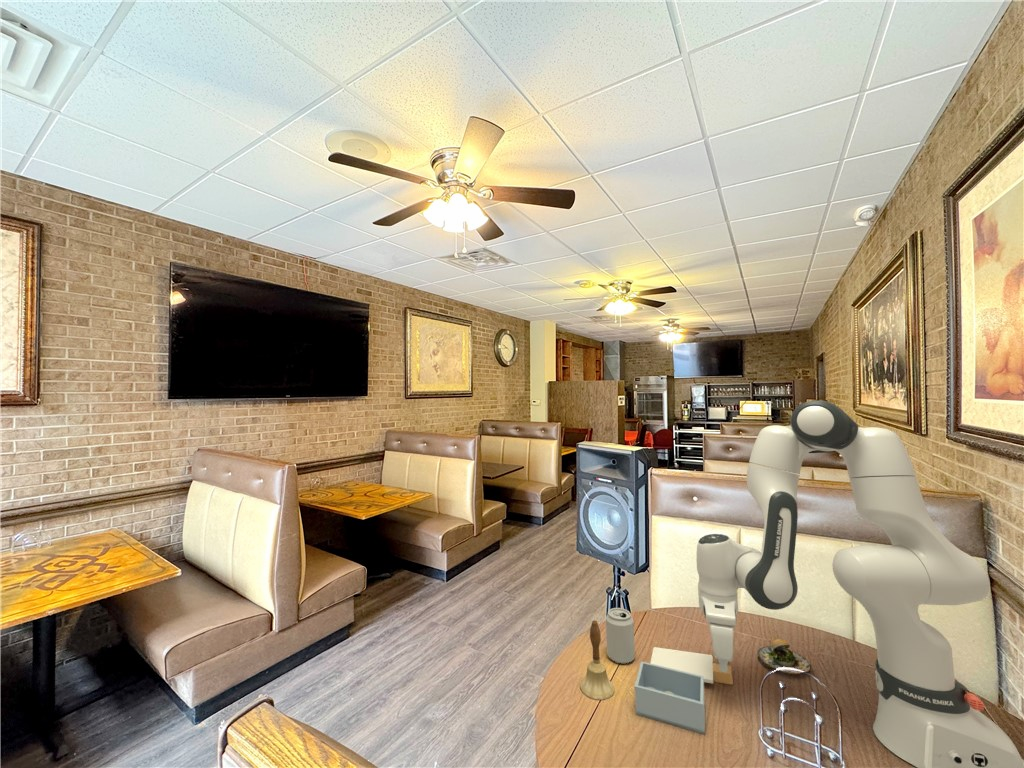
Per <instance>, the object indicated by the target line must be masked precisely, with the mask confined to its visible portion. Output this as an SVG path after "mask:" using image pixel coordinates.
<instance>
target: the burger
mask: <svg viewBox="0 0 1024 768" xmlns="http://www.w3.org/2000/svg"><path fill="white" fill-rule="evenodd" d="M776 633H778V632H777V630H776ZM776 636H777V639H774V640H773V641H772V643H771V644H770V646H763V647H761V648H759V649H758V651H757V661H758V663H759V664H761V666H762V667H763V668H764V669H767V667H770V668H771V669H773V670H775V669H776V668H778V667H783V666H785V667H794V668H797V669H801V670H803V671H805V673H808V672H810V671H811V670H813V667H812V664H810V662H809V661H808V660H807V659H806V658H805V656H802V655H801V654H799V653H798V652H796V651H795V652H794V651H793V650H791V649H790V647H791V645H790V644H789V642H788V641H786V640H784V639H781V638H779V635H778V634H776ZM780 672H781V673H784V674H790V675H801V674H800V673H795V672H791V671H780Z"/></svg>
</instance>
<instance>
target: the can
mask: <svg viewBox="0 0 1024 768" xmlns="http://www.w3.org/2000/svg"><path fill="white" fill-rule="evenodd" d="M634 620H635V619H634V618H633V616H632V614H631V612H630V611H629V610H628V609H625V608H621V607H614V608H610V609H609V610H608V611H607V614H606V616H605V634H606V637H605V638H606V653H607V654H606V655H607V656H608V657H609V659H611V661H613V662H614V661H615V662H614V663H616V664H620V663H621V665H627V664H630V663H631V662H632V661H634V659H635V658H636V657H635V656H636V652H635V651H636V650H635V649H636V647H635V646H636V645H635V623H634V622H635V621H634ZM629 662H630V663H629ZM626 663H627V664H626Z"/></svg>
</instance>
